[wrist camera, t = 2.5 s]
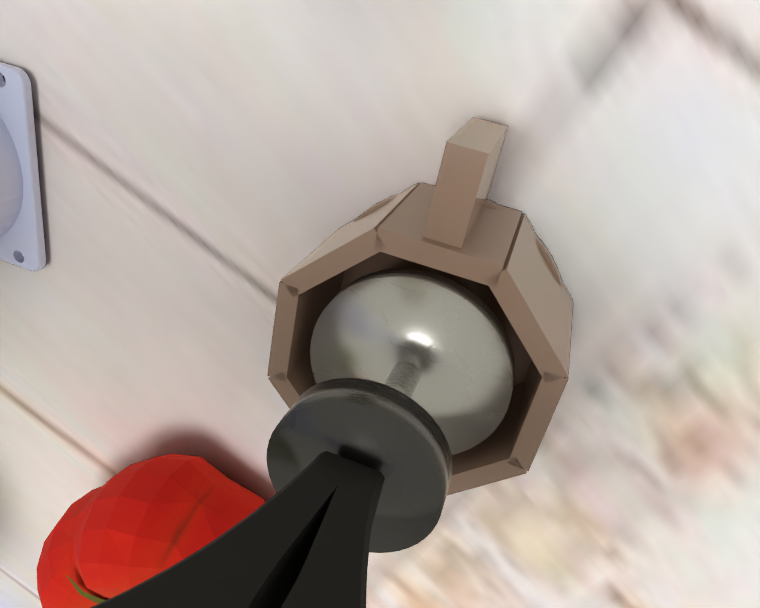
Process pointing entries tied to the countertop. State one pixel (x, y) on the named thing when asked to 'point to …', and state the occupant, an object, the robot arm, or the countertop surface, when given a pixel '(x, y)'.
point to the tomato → (137, 528)
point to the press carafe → (462, 265)
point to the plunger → (399, 393)
